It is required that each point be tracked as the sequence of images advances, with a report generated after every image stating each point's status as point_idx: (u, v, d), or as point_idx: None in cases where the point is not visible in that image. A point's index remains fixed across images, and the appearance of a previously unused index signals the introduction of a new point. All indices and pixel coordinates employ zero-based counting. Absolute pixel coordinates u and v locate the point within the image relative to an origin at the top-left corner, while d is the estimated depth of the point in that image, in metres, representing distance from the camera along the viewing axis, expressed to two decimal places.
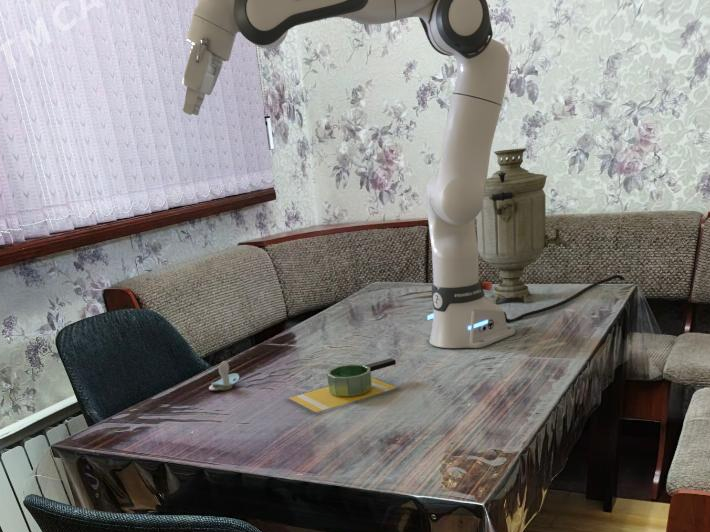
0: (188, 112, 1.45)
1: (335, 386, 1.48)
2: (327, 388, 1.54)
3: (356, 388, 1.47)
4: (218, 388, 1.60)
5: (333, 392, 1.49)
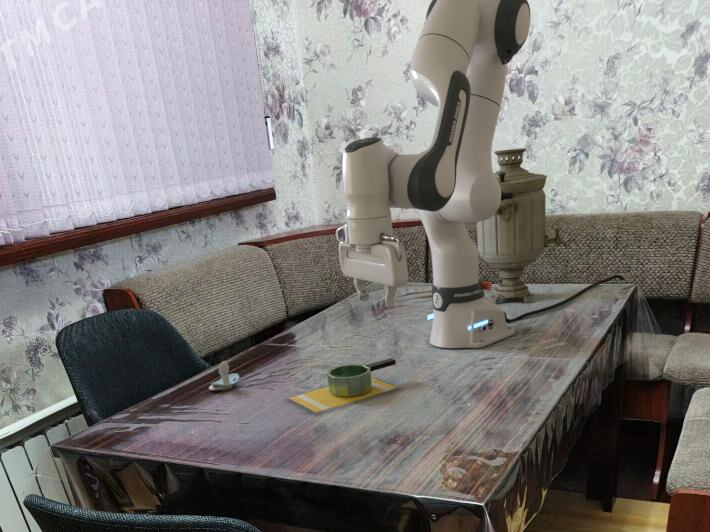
0: (391, 305, 1.43)
1: (335, 386, 1.48)
2: (327, 388, 1.54)
3: (356, 388, 1.47)
4: (218, 388, 1.60)
5: (333, 392, 1.49)
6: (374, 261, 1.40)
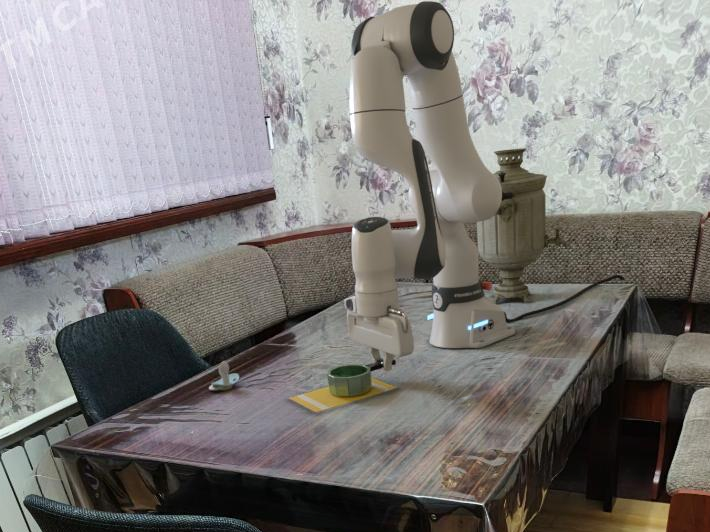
0: (389, 368, 1.53)
1: (335, 386, 1.48)
2: (327, 388, 1.54)
3: (356, 388, 1.47)
4: (218, 388, 1.60)
5: (333, 392, 1.49)
6: (381, 331, 1.47)
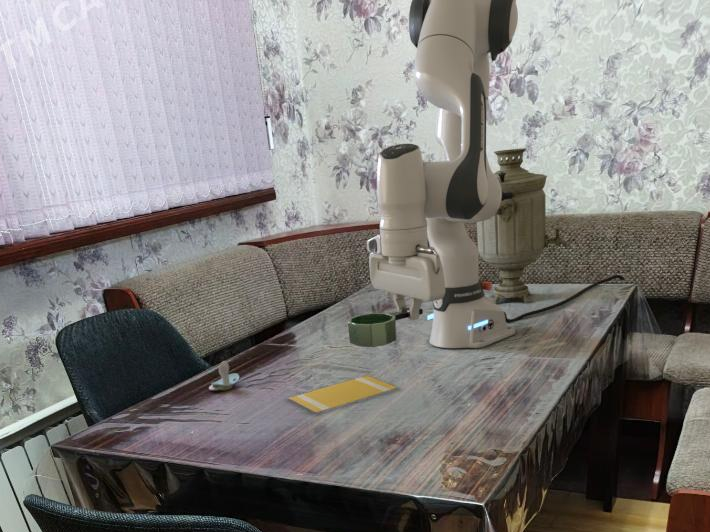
0: (416, 317, 1.38)
1: (357, 335, 1.33)
2: (327, 388, 1.54)
3: (380, 337, 1.33)
4: (218, 388, 1.60)
5: (354, 342, 1.35)
6: (408, 274, 1.32)
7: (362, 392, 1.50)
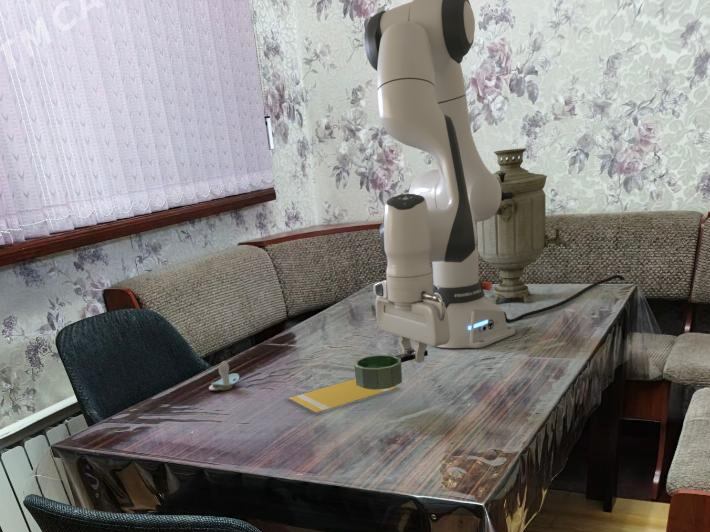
0: (421, 360, 1.41)
1: (363, 378, 1.36)
2: (327, 388, 1.54)
3: (386, 380, 1.36)
4: (218, 388, 1.60)
5: (360, 384, 1.38)
6: (413, 319, 1.36)
7: (362, 392, 1.50)
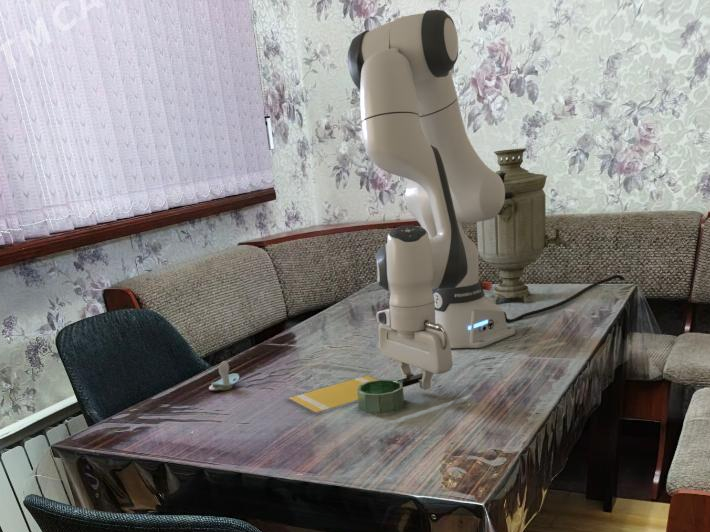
0: (428, 387, 1.43)
1: (366, 403, 1.39)
2: (327, 388, 1.54)
3: (388, 405, 1.38)
4: (218, 388, 1.60)
5: (363, 409, 1.40)
6: (416, 347, 1.38)
7: None
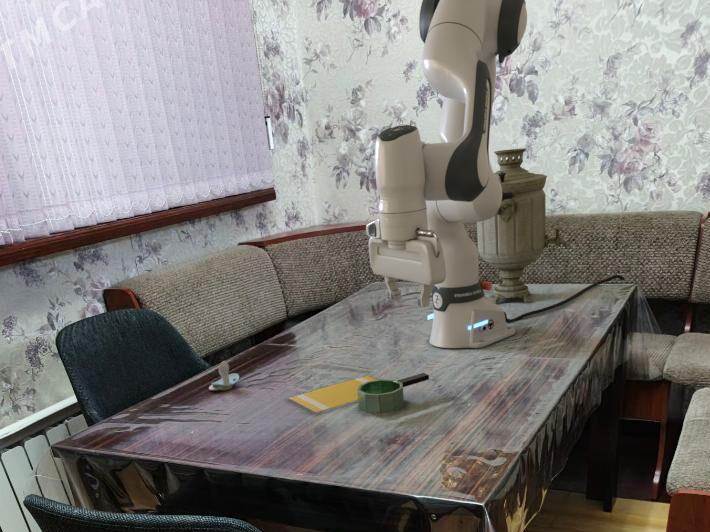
0: (427, 304, 1.34)
1: (366, 403, 1.39)
2: (327, 388, 1.54)
3: (388, 405, 1.38)
4: (218, 388, 1.60)
5: (363, 409, 1.40)
6: (408, 258, 1.31)
7: None
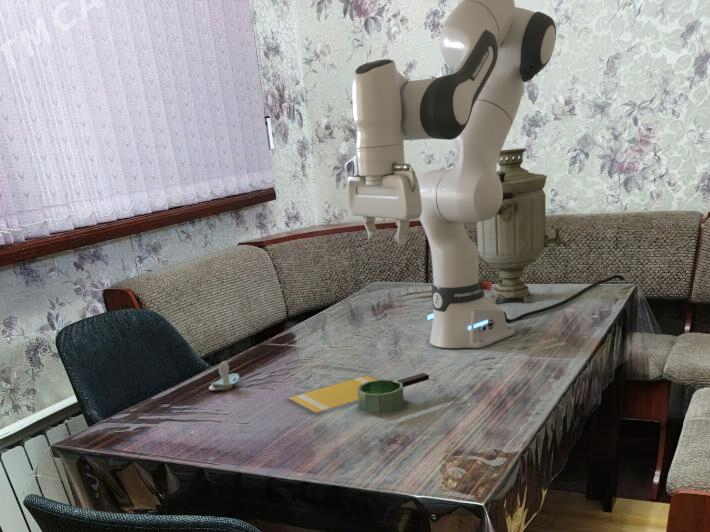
0: (403, 242, 1.36)
1: (366, 403, 1.39)
2: (327, 388, 1.54)
3: (388, 405, 1.38)
4: (218, 388, 1.60)
5: (363, 409, 1.40)
6: (385, 194, 1.32)
7: None
